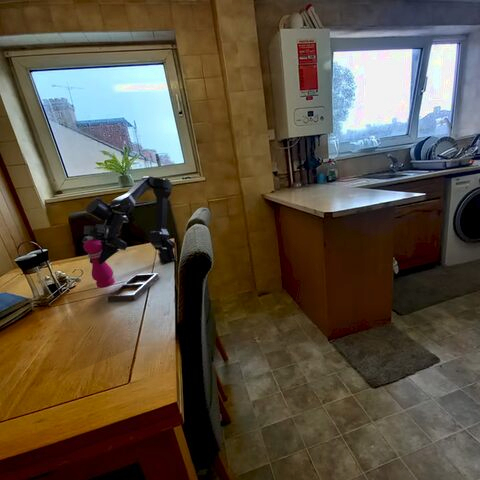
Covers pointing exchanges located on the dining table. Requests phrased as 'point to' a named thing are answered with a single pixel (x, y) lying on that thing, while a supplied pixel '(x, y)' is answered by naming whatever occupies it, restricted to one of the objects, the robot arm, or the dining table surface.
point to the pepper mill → (99, 271)
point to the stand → (133, 287)
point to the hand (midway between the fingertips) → (95, 263)
